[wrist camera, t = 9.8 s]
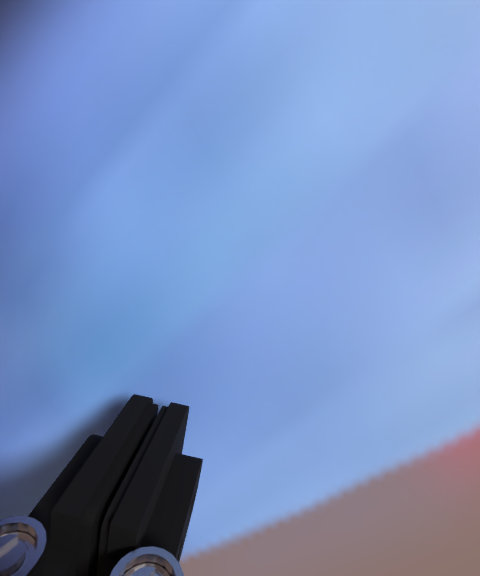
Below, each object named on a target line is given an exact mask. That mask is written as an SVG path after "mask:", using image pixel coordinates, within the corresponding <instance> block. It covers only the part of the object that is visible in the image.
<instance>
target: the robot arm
mask: <svg viewBox="0 0 480 576" xmlns="http://www.w3.org/2000/svg"><path fill="white" fill-rule="evenodd" d="M157 412H158V405H157V404H153V399H152V398H149V397H145V396H140V395H135V394H134V395H133V396H132V397H131V398H130V400H129V401H128V403H127V404H126V405H125V407H124V408H123V410H122V411H121V413H120V414H119V415H118V417H117V418H116V420H115V421H114V423H113V424H112V425H111V427H110V428H109V430H108V431H107V432H106V434H105V435H104V437H102V436H98V435H91V436H90V437H89V438H88V439H87V440H86V441H85V443H84V444H83V445H82V447H81V448H80V449H79V450H78V452H77V453H76V454H75V456H74V457H73V458H72V460H71V461H70V462H69V464H68V465H67V466H66V467H65V469H64V470H63V471H62V473H61V474H60V475H59V477H58V478H57V479H56V481H55V482H54V483H53V484H52V486H51V487H50V488H49V490H48V491H47V492H46V494H45V495H44V496H43V498H42V499H41V500H40V501H39V503H38V504H37V505H36V507H35V508H34V509H33V511H32V512H31V513H30V515H29V516H28V517H27V516H12V517H8V518H5V519H1V520H0V576H184V574H183V572H182V569H181V566H180V563H179V560H180V557H181V553H182V549H183V545H184V541H185V537H186V533H187V529H188V526H189V522H190V518H191V514H192V510H193V506H194V501H195V497H196V493H197V488H198V483H199V478H200V473H201V467H202V461H203V459H200V458H196V457H191V456H187V455H182V449H183V443H184V437H185V431H186V425H187V419H188V413H189V406H186V405H181V404H177V403H172V402H171V403H170V405H169V407H166V406H162V408H161V410H160V411H159V413H158V415H157Z"/></svg>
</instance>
